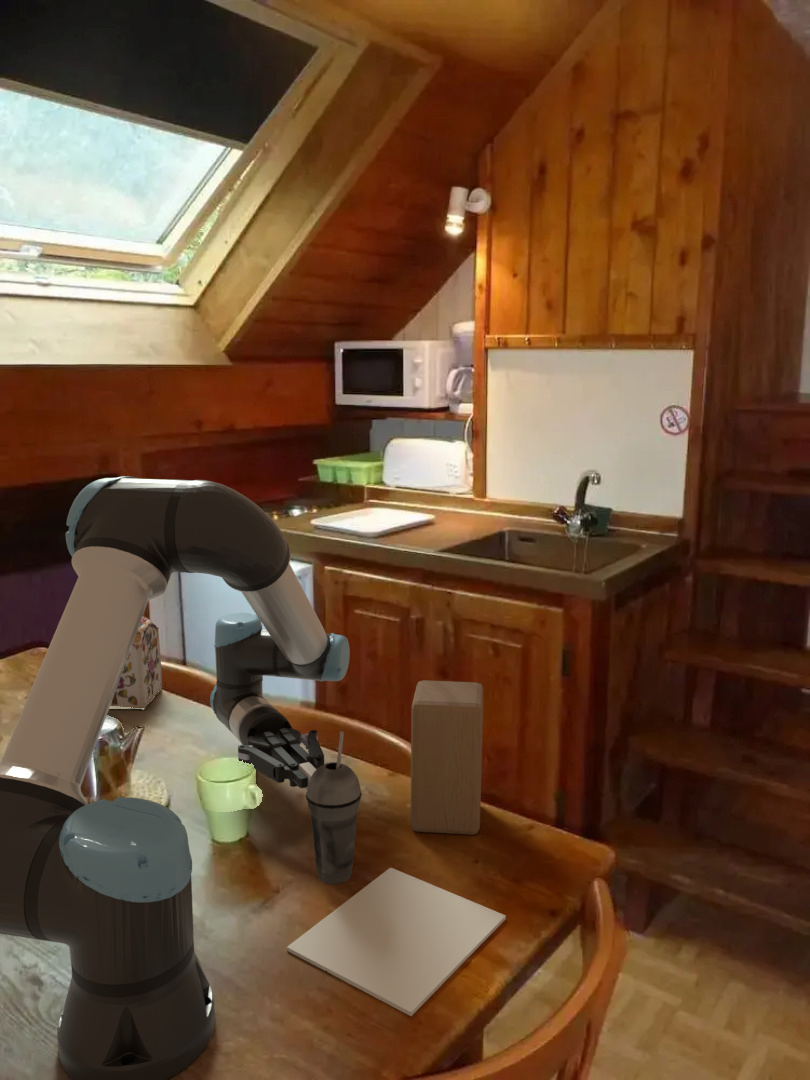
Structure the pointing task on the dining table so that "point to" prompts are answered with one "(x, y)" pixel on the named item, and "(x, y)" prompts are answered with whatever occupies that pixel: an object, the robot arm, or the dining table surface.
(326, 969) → the mat
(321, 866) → the tumbler with straw
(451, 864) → the dining table surface
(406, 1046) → the dining table surface
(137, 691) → the decorative jar
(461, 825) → the block
